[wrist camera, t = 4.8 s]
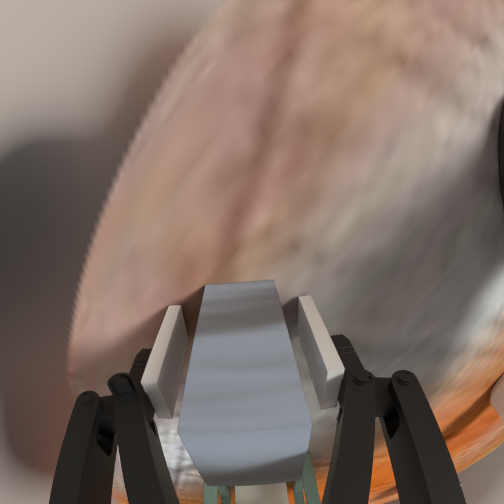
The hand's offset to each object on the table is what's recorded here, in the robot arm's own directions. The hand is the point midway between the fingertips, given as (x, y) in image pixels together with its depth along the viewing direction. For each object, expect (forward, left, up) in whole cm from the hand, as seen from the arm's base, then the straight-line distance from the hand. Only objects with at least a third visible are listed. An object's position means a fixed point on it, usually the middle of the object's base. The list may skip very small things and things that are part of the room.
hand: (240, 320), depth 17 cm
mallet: (+9, 0, 0) cm, 9 cm away
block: (+27, 0, 0) cm, 27 cm away
